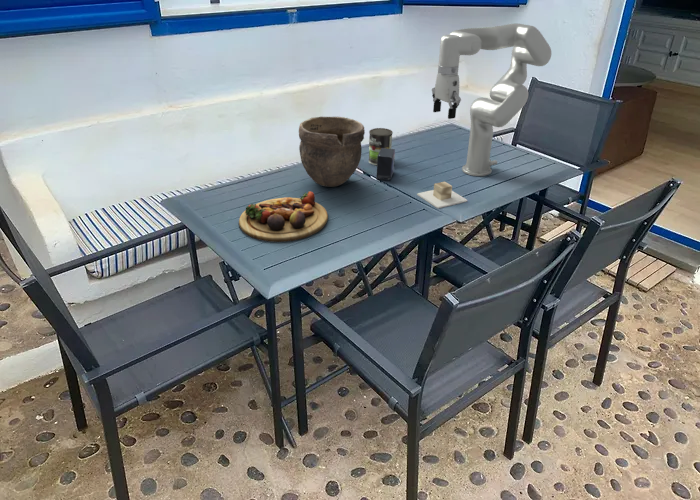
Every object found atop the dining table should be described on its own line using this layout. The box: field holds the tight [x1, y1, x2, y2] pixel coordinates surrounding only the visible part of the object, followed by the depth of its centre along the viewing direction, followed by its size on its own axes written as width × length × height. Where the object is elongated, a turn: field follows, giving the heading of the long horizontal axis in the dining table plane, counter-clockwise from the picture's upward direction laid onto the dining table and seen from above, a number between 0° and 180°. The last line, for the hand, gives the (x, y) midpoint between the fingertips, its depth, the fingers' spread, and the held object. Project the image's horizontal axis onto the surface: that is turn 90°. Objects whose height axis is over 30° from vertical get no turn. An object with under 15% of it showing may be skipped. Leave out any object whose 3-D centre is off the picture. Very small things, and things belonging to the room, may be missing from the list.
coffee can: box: [368, 127, 394, 166], centre depth 244 cm, size 10×10×14 cm
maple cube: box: [433, 181, 453, 200], centre depth 213 cm, size 5×5×5 cm
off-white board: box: [416, 189, 468, 209], centre depth 214 cm, size 14×14×1 cm
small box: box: [375, 148, 396, 181], centre depth 231 cm, size 11×6×10 cm, turn 168°
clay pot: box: [298, 116, 366, 188], centre depth 220 cm, size 26×26×25 cm
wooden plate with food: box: [238, 190, 329, 243], centre depth 196 cm, size 32×32×8 cm
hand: (444, 115), depth 214 cm, fingers open, 9 cm apart
